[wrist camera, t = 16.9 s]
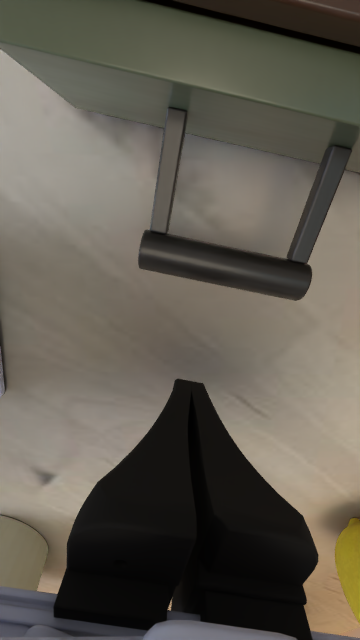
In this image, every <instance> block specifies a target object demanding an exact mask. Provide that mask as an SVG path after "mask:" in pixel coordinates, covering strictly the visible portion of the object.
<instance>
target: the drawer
mask: <svg viewBox="0 0 360 640" xmlns="http://www.w3.org/2000/svg"><path fill="white" fill-rule="evenodd" d="M0 49H1V50H3V51H4V52H5V53H6V54H8V55H9V56H10V57H11V58H13V59H14V60H15V61H17V62H18V63H19V64H20V65H22V66H23V67H24V68H25V69H27V70H28V71H29V72H31V73H32V74H33V75H34V76H36V77H37V78H38V79H39V80H41V81H42V82H43V83H45V84H46V85H47V86H48V87H50V88H51V89H52V90H53V91H55V92H56V93H57V94H58V95H60V96H61V97H62V98H64V99H65V100H66V101H67V102H69V103H70V104H71V105H72V106H74V107H75V108H78V109H83V110H87V111H92V112H96V113H100V114H105V115H109V116H114V117H118V118H122V119H127V120H131V121H135V122H140V123H144V124H149V125H153V126H157V127H162V128H164V134H163V141H162V148H161V155H160V162H159V169H158V176H157V183H156V190H155V197H154V204H153V211H152V218H151V225H150V230H145V231H144V233H143V236H142V239H141V244H140V249H139V258H138V265H139V268H140V269H144V270H148V271H153V272H158V273H163V274H168V275H173V276H178V277H183V278H187V279H192V280H197V281H202V282H207V283H212V284H217V285H221V286H226V287H231V288H236V289H241V290H246V291H251V292H256V293H260V294H265V295H270V296H275V297H280V298H285V299H290V300H294V301H297V300H300V299H302V298H303V297H304V295H305V294H306V293H307V291H308V289H309V286H310V283H311V279H312V269H311V266H310V265H309V264H307V262H308V260H309V257H310V255H311V252H312V250H313V247H314V245H315V242H316V240H317V237H318V235H319V232H320V230H321V227H322V225H323V222H324V220H325V217H326V215H327V212H328V210H329V207H330V205H331V202H332V200H333V198H334V195H335V193H336V190H337V188H338V185H339V183H340V180H341V178H342V175H343V173H344V170H345V169H346V170H350V171H355V172H359V173H360V47H358V46H354V45H350V44H346V43H342V42H338V41H334V40H330V39H326V38H322V37H318V36H314V35H310V34H306V33H302V32H298V31H294V30H290V29H286V28H282V27H278V26H274V25H270V24H266V23H262V22H258V21H254V20H249V19H245V18H241V17H237V16H233V15H229V14H225V13H221V12H217V11H213V10H209V9H205V8H201V7H197V6H193V5H189V4H185V3H181V2H177V1H173V0H0ZM185 133H188V134H192V135H197V136H201V137H206V138H210V139H214V140H219V141H223V142H227V143H232V144H236V145H241V146H245V147H249V148H254V149H258V150H263V151H267V152H271V153H276V154H280V155H284V156H289V157H293V158H298V159H302V160H306V161H311V162H315V163H320V167H319V169H318V172H317V175H316V178H315V180H314V183H313V186H312V188H311V191H310V194H309V197H308V199H307V202H306V205H305V208H304V210H303V213H302V216H301V219H300V221H299V224H298V227H297V230H296V232H295V235H294V238H293V241H292V243H291V246H290V249H289V252H288V254H287V258H288V259H284V258H279V257H275V256H270V255H265V254H261V253H256V252H251V251H246V250H242V249H237V248H232V247H227V246H223V245H218V244H213V243H209V242H204V241H199V240H194V239H190V238H185V237H180V236H176V235H171V234H167V232H168V230H169V224H170V219H171V213H172V207H173V201H174V195H175V189H176V183H177V178H178V172H179V166H180V160H181V154H182V148H183V142H184V137H185Z"/></svg>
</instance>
